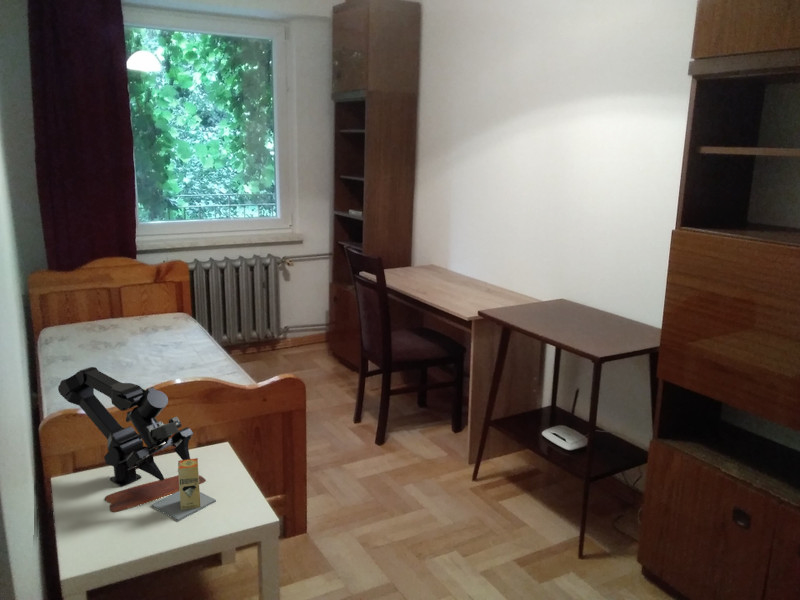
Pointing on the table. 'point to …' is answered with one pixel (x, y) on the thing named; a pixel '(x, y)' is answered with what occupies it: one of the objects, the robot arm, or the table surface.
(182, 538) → the table surface
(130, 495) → the wooden tablet
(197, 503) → the shoe polish box
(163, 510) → the slate mat
